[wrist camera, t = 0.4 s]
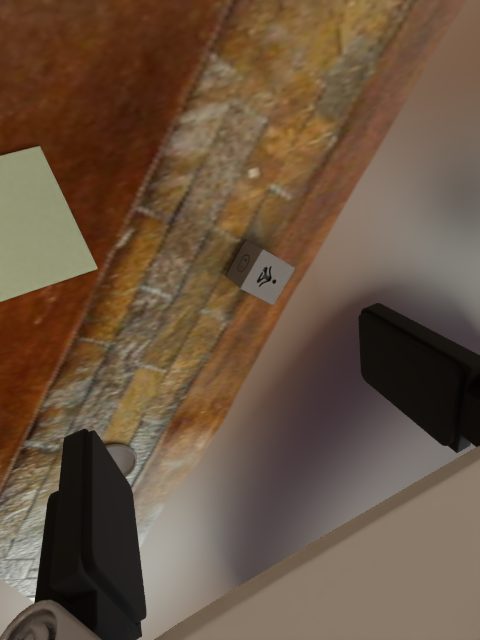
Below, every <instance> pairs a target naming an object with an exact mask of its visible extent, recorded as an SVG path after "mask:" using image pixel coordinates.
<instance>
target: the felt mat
mask: <svg viewBox="0 0 480 640" xmlns="http://www.w3.org/2000/svg"><path fill="white" fill-rule="evenodd" d="M96 269H98V268H97V266H96V264H95V262H94V259H93V257H92V255H91V253H90V251H89V249H88V247H87V245H86V243H85V240H84V238H83V236H82V234H81V232H80V230H79V228H78V226H77V224H76V221H75V219H74V217H73V215H72V213H71V211H70V209H69V207H68V205H67V202H66V200H65V198H64V196H63V194H62V192H61V190H60V188H59V186H58V183H57V181H56V179H55V177H54V175H53V173H52V171H51V169H50V167H49V165H48V162H47V160H46V158H45V156H44V154H43V152H42V150H41V148H40V146H37V147H33V148H29V149H25V150H21V151H17V152H13V153H9V154H5V155H1V156H0V302H1V301H4V300H7V299H10V298H13V297H16V296H19V295H22V294H25V293H28V292H30V291H33V290H36V289H39V288H42V287H45V286H48V285H51V284H54V283H57V282H60V281H63V280H66V279H69V278H72V277H75V276H78V275H81V274H84V273H87V272H90V271H93V270H96Z"/></svg>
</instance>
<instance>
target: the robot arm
mask: <svg viewBox="0 0 480 640" xmlns="http://www.w3.org/2000/svg"><path fill="white" fill-rule="evenodd" d="M359 339H360V360H361V374H362V376H363V378H364V380H365V381H366V382H367V383H368V384H370V385H371V386H372V387H373V388H374V389H376V390H377V391H378V392H379V393H380V394H382V395H383V396H384V397H385V398H386V399H387V400H389V401H390V402H391V403H392V404H393V405H395V406H396V407H397V408H398V409H399V410H401V411H402V412H403V413H404V414H405V415H407V416H408V417H409V418H410V419H411V420H413V421H414V422H415V423H416V424H417V425H418V426H420V427H421V428H422V429H424V431H426V432H427V433H428V434H429V435H430V436H432V437H433V438H434V439H435V440H437V441H438V442H439V443H440V444H442V445H444V446H449V447H450V448H451V449H453V450H454V451H455V452H456V453H458V452H460V451H462V450H463V449H465V448H467V447H468V446H470V444H471V443H472V444H473V445H475V446H476V448H475V449H473V450H471V451H469V452H467V453H466V454H464V455H462V456H460V457H459V458H457V459H455V460H454V461H452V462H450V463H448V464H447V465H445V466H443V467H441V468H440V469H438V470H436V471H435V472H433V473H431V474H429V475H428V476H426V477H424V478H422V479H421V480H419V481H417V482H415V483H414V484H412V485H410V486H409V487H407V488H405V489H403V490H402V491H400V492H399V493H396V494H395V495H393V496H392V497H390V498H388V499H386V500H385V501H383V502H381V503H379V504H378V505H376V506H374V507H373V508H371V509H369V510H367V511H366V512H364V513H362V514H361V515H359V516H357V517H356V518H354V519H352V520H350V521H349V522H347V523H345V524H344V525H342V526H340V527H338V528H337V529H335V530H333V531H332V532H330V533H328V534H326V535H325V536H323V537H321V538H320V539H318V540H316V541H315V542H313V543H311V544H309V545H308V546H306V547H304V548H303V549H301V550H299V551H298V552H296V553H294V554H293V555H291V556H289V557H288V558H286V559H285V560H282V561H281V562H279V563H278V564H276V565H274V566H273V567H271V568H269V569H267V570H266V571H264V572H262V573H261V574H259V575H257V576H256V577H254V578H252V579H250V580H249V581H247V582H245V583H244V584H242V585H240V586H239V587H237V588H235V589H234V590H232V591H230V592H229V593H227V594H226V595H224V596H222V597H221V598H219V599H217V600H216V601H214V602H212V603H211V604H209V605H208V606H206V607H204V608H203V609H201V610H199V611H198V612H196V613H195V614H193V615H191V616H190V617H188V618H186V619H185V620H184V621H182V622H180V623H178V624H177V625H175V626H174V627H172V628H171V629H169V630H168V631H166V632H165V633H163V634H162V635H161V636H159V637H158V638H156V639H155V640H480V355H478V354H476V353H474V352H472V351H470V350H468V349H466V348H465V347H463V346H461V345H459V344H457V343H455V342H453V341H451V340H449V339H447V338H445V337H443V336H441V335H440V334H438V333H436V332H434V331H432V330H430V329H428V328H426V327H424V326H422V325H421V324H418V323H417V322H415V321H413V320H411V319H409V318H407V317H405V316H403V315H401V314H399V313H397V312H396V311H394V310H392V309H390V308H388V307H386V306H384V305H382V304H379V303H376V304H374V305H371V306H369V307H366V308H364V309H363V310H362V311H361V315H359ZM145 618H146V604H145V595H144V586H143V577H142V569H141V560H140V552H139V543H138V535H137V526H136V518H135V509H134V501H133V493H132V490H131V487H130V484H129V483H128V481H127V479H126V478H125V476H124V475H123V473H122V472H121V470H120V469H119V467H118V465H117V464H116V462H115V461H114V459H113V458H112V456H111V454H110V453H109V451H108V450H107V448H106V447H105V445H104V444H103V442H102V440H101V439H100V437H99V436H98V434H97V433H96V431H94V430H93V431H90V432H89V431H88V430H87V429H82V430H80V431H78V432H75V433H73V434H71V435H68V436H66V437H65V438H64V443H63V453H62V462H61V472H60V482H59V491H56V492H54V493H52V494H51V495H50V496H49V499H48V503H47V510H46V518H45V526H44V533H43V541H42V549H41V557H40V564H39V572H38V580H37V587H36V595H35V603H34V604H32V605H30V606H29V607H28V608H26V609H25V610H24V611H22V612H21V613H19V615H17V617H16V618H15V619H14V620H13V621H12V622H11V623H10V624H9V625H8V627H7V628H6V630H5V631H4V632H3V634H2V635H1V637H0V640H137V639H138V638H140V637H142V632H141V620H143V619H145Z"/></svg>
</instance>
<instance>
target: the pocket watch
mask: <svg viewBox="0 0 480 640" xmlns="http://www.w3.org/2000/svg"><path fill="white" fill-rule="evenodd" d="M105 447H106V448H107V450H108V451H109V453H110V454H111V456H112V458H113V459H114V461H115V462H116V464H117V465H118V467H119V469H120V470H121V472H122V473H123V475H124V476H125V477H127V476H128V475H130V474H131V473H132V472H133V470H134V469H135V467H136V463H137V457H136V454H135V452H134V451H133V449H131V448H130V447H128V446H126V445H122V444H112V445H107V446H105Z"/></svg>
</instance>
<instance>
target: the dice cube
mask: <svg viewBox="0 0 480 640" xmlns="http://www.w3.org/2000/svg"><path fill="white" fill-rule="evenodd" d="M294 270H295V268H294V267H292V266H290V265H289V264H287V263H285V262H284V261H282V260H280V259H279V258H277V257H275V256H274V255H272V254H270V253H269V252H267V251H265V250H264V249H262V248H260V247H258V246H257V245H255V244H253V243H251V242H249V241H247V240H245V242H244V244H243V245H242V247H241V249H240V251H239V253H238V254H237V256H236V258H235V260H234V261H233V263H232V265H231V267H230V269H229V270H228V272H227V274H226V276H227V277H228V278H229V279H230V280H231V281H233V282H234V283H235V284H236V285H237V286H238V287H239V288H240V289H242V290H244V291H246V292H248V293H250V294H252V295H254V296H256V297H258V298H260V299H262V300H264V301H266V302H268V303H270V304H272V305H273V304H274V303H275V301H276V300H277V298H278V296H279V295H280V293H281V291H282V290H283V288H284V286H285V285H286V283H287V281H288V280H289V278H290V276H291V275H292V273H293V271H294Z"/></svg>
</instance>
